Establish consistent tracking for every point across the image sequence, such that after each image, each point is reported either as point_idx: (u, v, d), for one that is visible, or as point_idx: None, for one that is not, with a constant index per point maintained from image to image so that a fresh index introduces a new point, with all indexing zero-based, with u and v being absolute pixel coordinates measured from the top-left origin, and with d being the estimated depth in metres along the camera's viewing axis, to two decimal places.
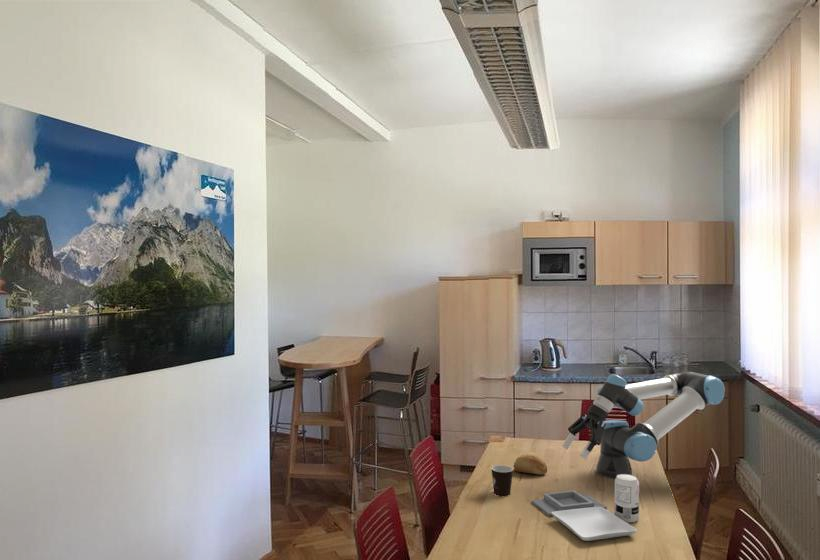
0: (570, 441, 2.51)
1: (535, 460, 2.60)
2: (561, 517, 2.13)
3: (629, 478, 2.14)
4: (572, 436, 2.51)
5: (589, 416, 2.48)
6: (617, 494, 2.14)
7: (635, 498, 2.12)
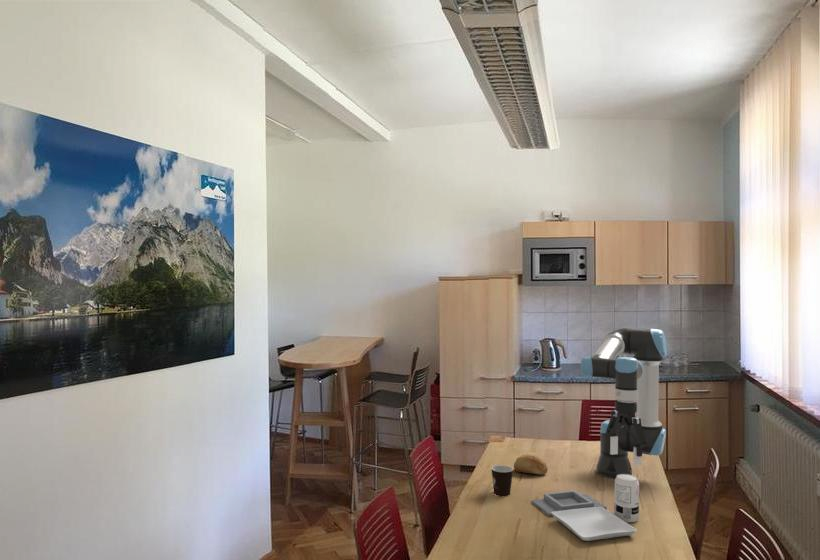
0: (616, 444, 2.22)
1: (535, 460, 2.60)
2: (561, 517, 2.13)
3: (629, 478, 2.14)
4: (615, 438, 2.22)
5: (620, 413, 2.17)
6: (617, 494, 2.14)
7: (635, 498, 2.12)
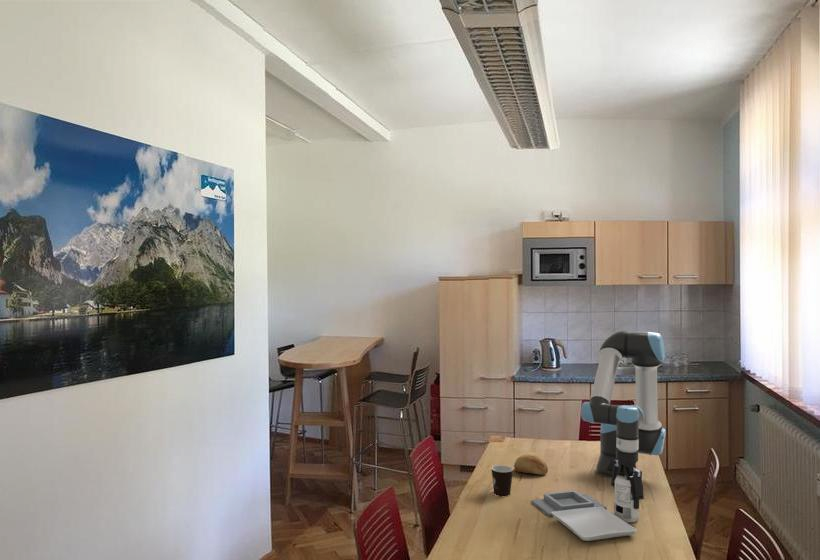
0: None
1: (535, 460, 2.60)
2: (561, 517, 2.13)
3: None
4: None
5: None
6: (617, 494, 2.14)
7: None
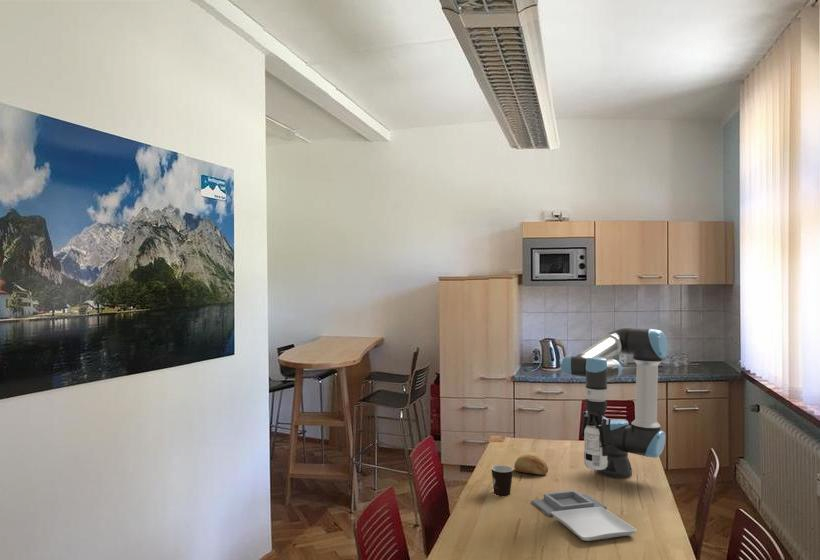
0: None
1: (536, 460, 2.60)
2: (561, 517, 2.13)
3: None
4: None
5: (590, 411, 2.23)
6: (586, 443, 2.20)
7: None
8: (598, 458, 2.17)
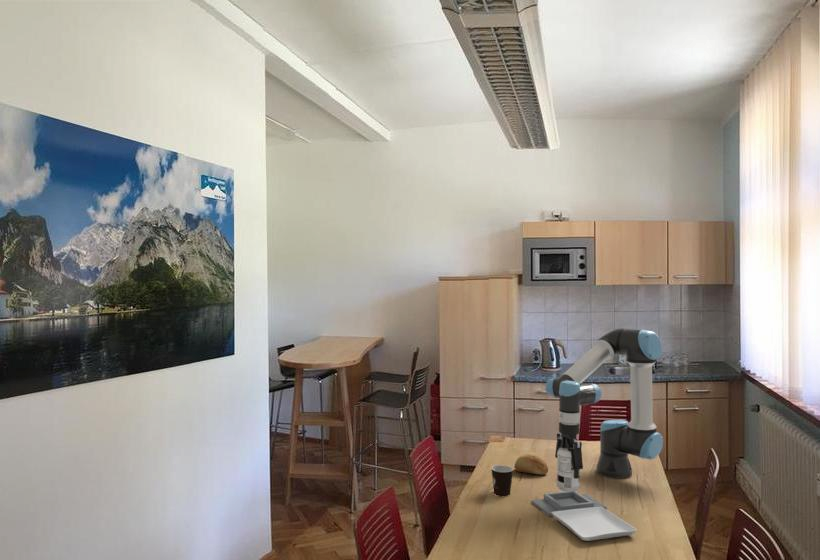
0: None
1: (536, 460, 2.60)
2: (561, 517, 2.13)
3: None
4: None
5: (563, 433, 2.28)
6: (559, 465, 2.25)
7: None
8: (570, 480, 2.22)
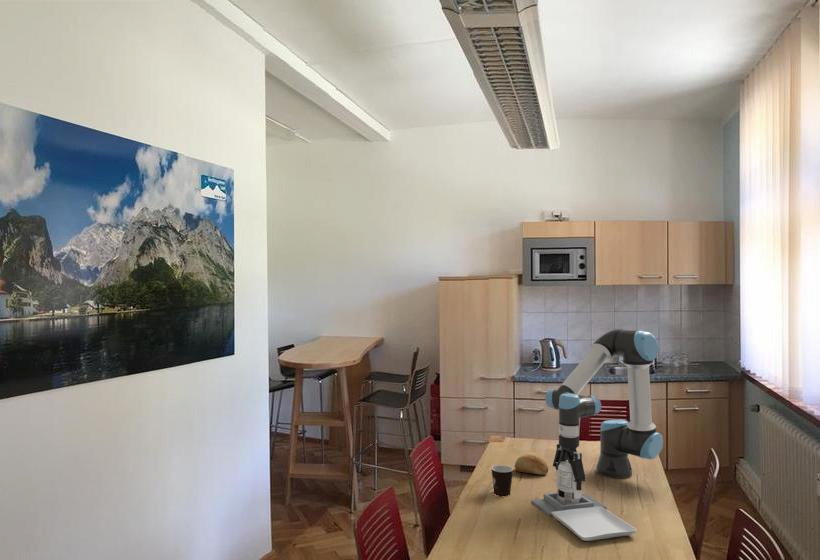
0: None
1: (536, 460, 2.60)
2: (561, 517, 2.13)
3: None
4: None
5: (563, 447, 2.28)
6: (559, 480, 2.25)
7: None
8: (570, 495, 2.23)
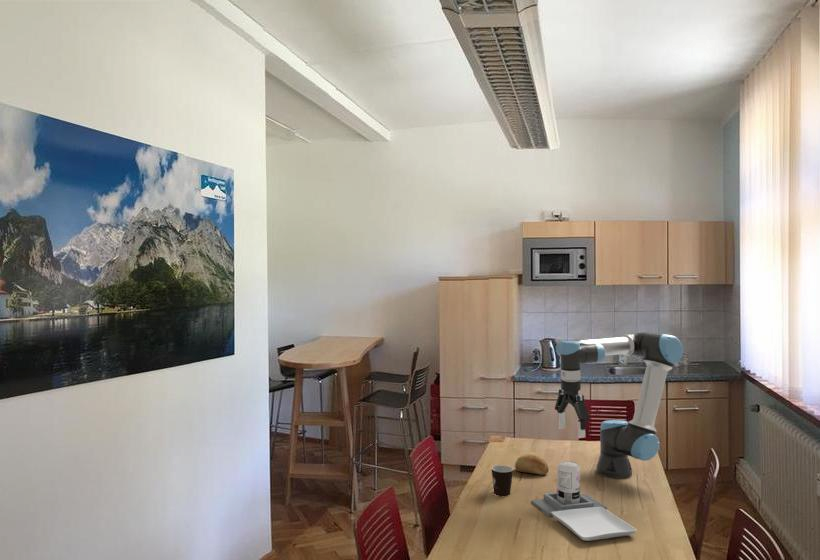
0: (563, 420, 2.45)
1: (536, 460, 2.60)
2: (561, 517, 2.13)
3: (571, 465, 2.25)
4: (562, 414, 2.44)
5: (565, 392, 2.39)
6: (559, 480, 2.25)
7: (575, 484, 2.23)
8: (570, 495, 2.23)
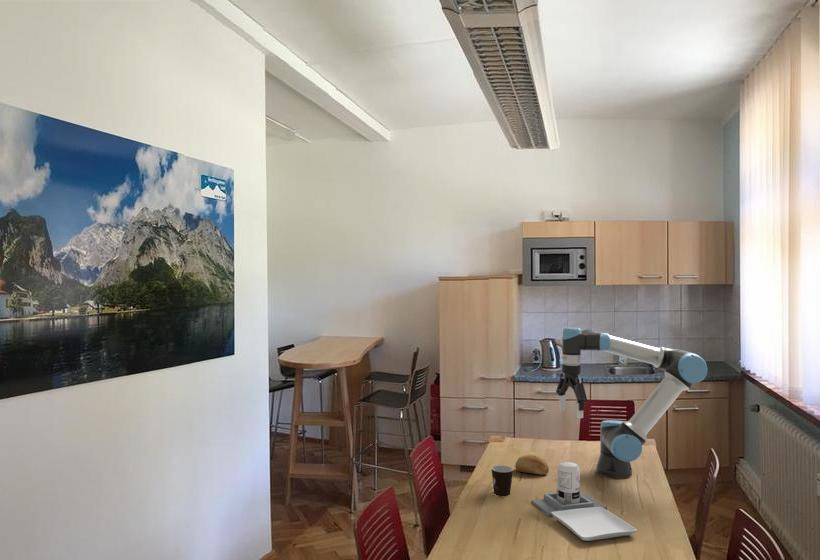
0: (564, 402, 2.59)
1: (536, 460, 2.60)
2: (561, 517, 2.13)
3: (571, 465, 2.25)
4: (563, 397, 2.59)
5: (566, 375, 2.54)
6: (559, 480, 2.25)
7: (575, 484, 2.23)
8: (570, 495, 2.23)
